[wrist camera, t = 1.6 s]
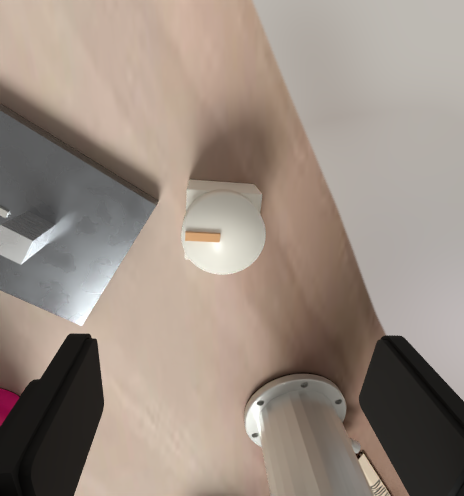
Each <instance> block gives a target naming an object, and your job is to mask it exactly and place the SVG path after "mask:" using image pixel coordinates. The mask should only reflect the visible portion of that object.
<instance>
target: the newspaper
mask: <svg viewBox="0 0 464 496" xmlns="http://www.w3.org/2000/svg"><path fill="white" fill-rule="evenodd" d="M358 461H359V463H360V465H361V467H362V469H363V472H364V474H365V476H366V478H367V480H368V483H369V485H370V487H371V489H372V491H373V494H374V496H391V495H390V494H389V492H388V491H387V489H386V488H385V486H384V484H383V483H382V481H381V480H380V478H379V477H378V475H377V474H376V472H375V470H374V469H373V467H372V466H371V464H370V463H369V461H368V460H367V458H366V456H365V455H364V453H363V455H362V454H361V453H360V458H359V459H358Z"/></svg>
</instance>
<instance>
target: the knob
mask: <svg viewBox="0 0 464 496" xmlns="http://www.w3.org/2000/svg"><path fill="white" fill-rule="evenodd" d="M262 195H263V194H262V193H261V192H260V191H259V189H258V188H257V187H256V186H255V185H254V184H246V183H232V182H218V181H205V180H191V179H189V182H188V186H187V197H186V214H185V216H184V221H183V226H182V232H181V240H182V245H183V248H184V251H185V259H189V260H191V261H192V263H194V264H195V265H196V266H197V267H199V268H200V269H202V270H204V271H206V272H209V273H213V274H220V275H226V274H232V273H236V272H239V271H241V270H243V269H245V268H247V267H248V266H250V265H251V264H252V263H253V262H254V261H255V260H256V259H257V258H258V256H259V255H260V253H261V251H262V249H263V247H264V244H265V238H266V230H265V225H264V222H263V219H262V217H261V215H260V210H261V202H262Z"/></svg>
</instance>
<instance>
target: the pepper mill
mask: <svg viewBox="0 0 464 496" xmlns="http://www.w3.org/2000/svg"><path fill="white" fill-rule="evenodd" d="M18 399H19V396H18V395H16V394H15V393H13V392H10V391H8V390H4V389H0V426H1V425H2V423H3V422H4V420H5V419H6V417H7V416H8V414H9V413H10V411H11V409H12V408H13V406H14V405H15V403H16V402H17V400H18Z"/></svg>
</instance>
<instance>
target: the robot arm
mask: <svg viewBox="0 0 464 496" xmlns="http://www.w3.org/2000/svg"><path fill="white" fill-rule="evenodd" d="M359 403H360V406H361V408H362V410H363V412H364V414H365V416H366V417H367V419H368V421H369V423H370V425H371V427H372V428H373V430H374V432H375V434H376V436H377V437H378V439H379V441H380V443H381V445H382V446H383V448H384V450H385V452H386V454H387V456H388V457H389V459H390V461H391V463H392V465H393V466H394V468H395V470H396V472H397V474H398V475H399V477H400V479H401V481H402V483H403V484H404V486H405V488H406V490H407V492H408V494H409V495H410V496H464V401H463V400H462V399H461V398H460V397H459V396H458V395H457V394H456V393H455V392H454V391H453V390H452V389H451V388H450V386H449V385H448V384H447V383H446V382H445V381H444V380H443V379H442V378H441V377H440V376H439V375H438V373H436V372H435V370H434V369H433V368H432V367H431V366H430V365H429V364H428V363H427V362H426V361H425V360H424V358H423V357H422V356H421V355H420V354H419V353H418V352H417V351H416V350H415V349H414V348H413V347H412V346H411V344H409V343H408V341H407V340H406V339H405V338H403V337H402V336H383V337H382V338H381V340H378V341H377V343H376V346H375V349H374V352H373V356H372V359H371V362H370V365H369V368H368V371H367V374H366V377H365V380H364V383H363V386H362V389H361V392H360V395H359ZM103 407H104V397H103V388H102V379H101V370H100V362H99V353H98V344H97V340H96V339H92V338H91V335H90V334H69V335H68V336H67V337H66V339H65V341H64V342H63V344H62V345H61V347H60V349H59V350H58V352H57V353H56V355H55V356H54V358H53V360H52V361H51V363H50V364H49V366H48V368H47V369H46V371H45V372H44V374H43V375H42V377H41V379H37V380H33V381H31V382H30V383H29V385H28V386H27V387H26V388H25V390H24V391H23V393H22V394H21V396H20V397H19V399H18V400H17V402H16V403H15V405H14V406H13V408H12V409H11V411H10V413H9V414H8V416H7V417H6V419H5V420H4V422H3V423H2V425H1V426H0V496H74V493H75V491H76V488H77V485H78V482H79V479H80V476H81V473H82V470H83V467H84V465H85V462H86V459H87V456H88V453H89V450H90V447H91V444H92V441H93V438H94V436H95V433H96V430H97V427H98V424H99V421H100V418H101V415H102V412H103ZM345 415H346V402H345V399H344V397H343V395H342V393H341V391H340V390H339V388H338V387H337V386H336V385H335V384H334V383H333V382H332V381H330V380H328V379H326V378H324V377H321V376H318V375H313V374H293V375H287V376H284V377H281V378H278V379H275V380H273V381H271V382H269V383H267V384H266V385H264V386H263V387H261V388H260V389H259V390H258V391H257V392H256V393H255V394H254V395H253V396H252V397H251V398H250V400H249V401H248V403H247V406H246V408H245V412H244V423H245V428H246V432H247V434H248V436H249V437H250V439H251V440H252V441H253V442H254V443H256V444H257V445H259V446H260V447H262V451H263V457H264V462H265V468H266V473H267V479H268V484H269V490H270V495H271V496H374V494H373V491H372V489H371V487H370V485H369V483H368V480H367V478H366V476H365V474H364V472H363V469H362V467H361V465H360V463H359V461H358V459H357V456H356V454H355V453H359V451H360V443H359V442H358V441H356V440H354V439H352V438H349V436H348V434H347V432H346V430H345V428H344V425H343V421H344V418H345Z"/></svg>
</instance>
